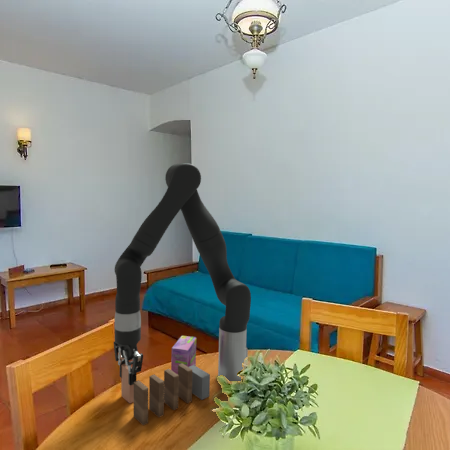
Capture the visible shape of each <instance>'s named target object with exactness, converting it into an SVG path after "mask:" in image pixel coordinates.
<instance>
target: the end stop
mask: <svg viewBox="0 0 450 450" xmlns="http://www.w3.org/2000/svg"><path fill="white" fill-rule="evenodd" d="M189 368H191V369H192V395H194V396H196V397H197V398H199V399H200V400H202V401H203V400H205V399H207V398H209V397H210V393H211V392H210V390H211V389H210V388H211V387H210V386H211V385H210V384H211V383H210V382H211V374H210V373H209V372H207V371H205V370H203V369H201V368H199V366H195V365H192V366H189Z"/></svg>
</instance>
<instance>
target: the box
mask: <svg viewBox="0 0 450 450" xmlns="http://www.w3.org/2000/svg"><path fill="white" fill-rule="evenodd" d="M170 362H171V363H170V364H171V367H170V370H172V371H173V372H175V373H176V374H178V365H179V364H182V363H183V364H184V365H186V366H187V367H189V366H192V365H195V366H196V365H197V364H196V363H197V337H196V336H189V335H188V336H187V335H181V336H180V337H179V338H178V339H177V341H176V342H175V343H174V345H173V346H172V347H171V360H170ZM196 367H197V366H196Z"/></svg>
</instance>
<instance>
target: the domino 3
mask: <svg viewBox="0 0 450 450" xmlns="http://www.w3.org/2000/svg"><path fill="white" fill-rule="evenodd" d="M163 381H164V405H166V406H168V407H169V408H170V409H172V410H173V411H175V410H177V409H179V397H178V389H179V375H178V374H176V373H175V372H173V371H172V370H171V368H167V369H164V370H163Z"/></svg>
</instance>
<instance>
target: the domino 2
mask: <svg viewBox="0 0 450 450" xmlns="http://www.w3.org/2000/svg"><path fill="white" fill-rule="evenodd" d="M148 384H149V385H148V410H149V411H150V412H152V413H153V414H154V415H155V416H156V417H158V418H161V417H162V416H163V417H164V415H165V413H164V412H165V410H164V409H165V407H164V406H165V403H164V379H162V378H160V377H159V376H157V375H156V374H151V375H149V383H148Z"/></svg>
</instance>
